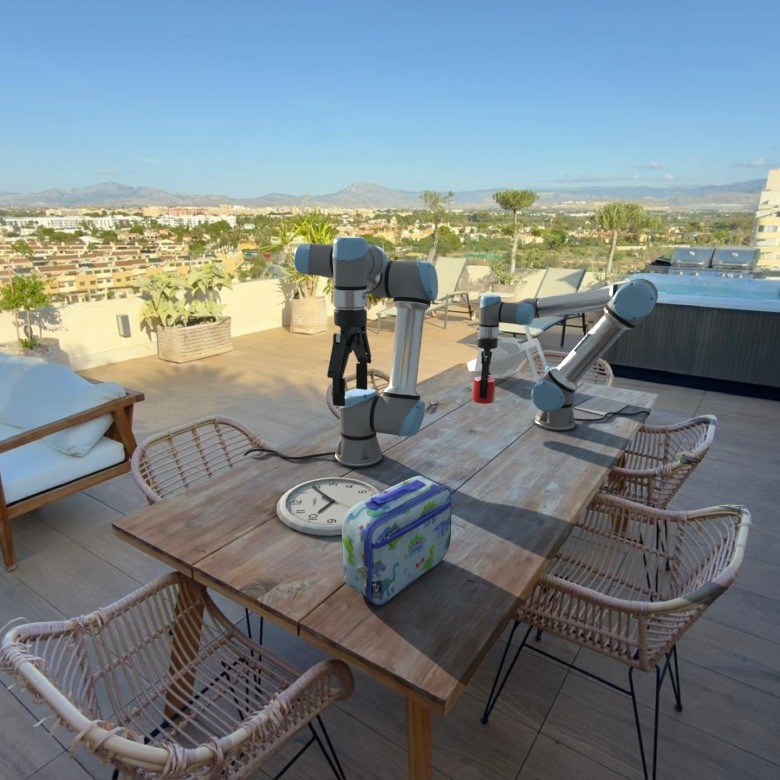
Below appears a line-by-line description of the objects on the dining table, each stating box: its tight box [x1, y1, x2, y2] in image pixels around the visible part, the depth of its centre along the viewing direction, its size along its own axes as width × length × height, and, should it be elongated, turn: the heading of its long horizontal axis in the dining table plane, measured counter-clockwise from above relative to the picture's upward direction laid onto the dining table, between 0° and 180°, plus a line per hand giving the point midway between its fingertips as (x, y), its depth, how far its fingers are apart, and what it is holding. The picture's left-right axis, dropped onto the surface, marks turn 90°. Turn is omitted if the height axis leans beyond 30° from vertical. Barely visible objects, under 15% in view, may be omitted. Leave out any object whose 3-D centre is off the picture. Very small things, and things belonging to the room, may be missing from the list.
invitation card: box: [573, 396, 629, 418], centre depth 226 cm, size 21×1×15 cm
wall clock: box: [276, 476, 382, 537], centre depth 142 cm, size 30×2×30 cm
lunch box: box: [341, 475, 453, 606], centre depth 111 cm, size 26×11×21 cm, turn 134°
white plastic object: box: [466, 325, 549, 384], centre depth 259 cm, size 37×45×31 cm
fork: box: [425, 396, 439, 412], centre depth 222 cm, size 3×16×2 cm, turn 160°
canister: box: [472, 376, 496, 405], centre depth 202 cm, size 8×8×9 cm
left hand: (350, 396), depth 125 cm, fingers open, 13 cm apart
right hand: (483, 394), depth 203 cm, fingers closed on canister, 8 cm apart
